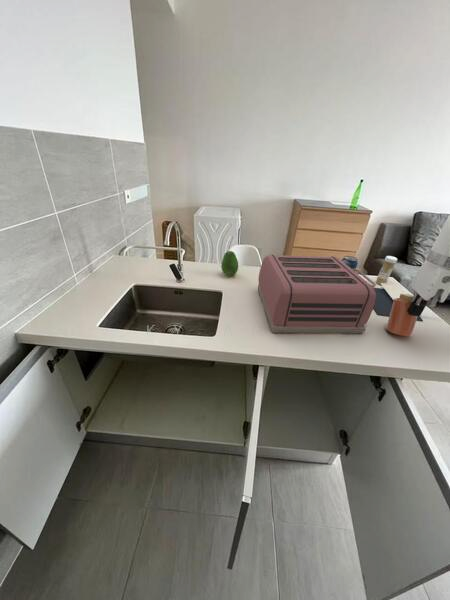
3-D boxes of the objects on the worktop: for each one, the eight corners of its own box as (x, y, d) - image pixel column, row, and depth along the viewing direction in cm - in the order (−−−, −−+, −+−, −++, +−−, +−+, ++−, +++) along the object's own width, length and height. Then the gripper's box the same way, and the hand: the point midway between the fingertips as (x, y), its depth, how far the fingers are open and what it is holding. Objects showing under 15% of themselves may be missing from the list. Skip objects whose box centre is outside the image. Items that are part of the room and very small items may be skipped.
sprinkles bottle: (373, 281, 118) (383, 255, 111) (380, 281, 119) (391, 255, 112) (380, 286, 114) (391, 259, 107) (388, 285, 115) (400, 259, 108)
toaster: (376, 334, 82) (397, 290, 73) (270, 334, 80) (279, 288, 71) (336, 291, 108) (349, 254, 99) (255, 289, 106) (260, 251, 97)
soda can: (340, 285, 113) (348, 261, 107) (332, 278, 119) (339, 255, 113) (353, 284, 114) (362, 260, 108) (344, 278, 120) (352, 255, 114)
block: (406, 303, 82) (408, 294, 82) (415, 306, 79) (418, 296, 78) (397, 303, 82) (400, 293, 81) (406, 306, 79) (409, 296, 78)
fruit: (235, 280, 112) (237, 255, 106) (219, 277, 114) (220, 253, 108) (238, 273, 119) (241, 249, 113) (223, 270, 120) (224, 247, 114)
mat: (396, 291, 111) (397, 290, 111) (422, 321, 91) (423, 320, 91) (359, 286, 113) (360, 285, 113) (377, 315, 93) (377, 314, 93)
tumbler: (404, 329, 86) (413, 299, 83) (416, 337, 79) (426, 305, 76) (382, 326, 87) (390, 296, 84) (392, 334, 80) (401, 302, 77)
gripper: (478, 272, 60) (439, 330, 69) (443, 252, 72) (414, 303, 82) (445, 268, 61) (411, 326, 70) (416, 249, 73) (390, 300, 83)
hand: (413, 314), depth 76 cm, fingers closed
